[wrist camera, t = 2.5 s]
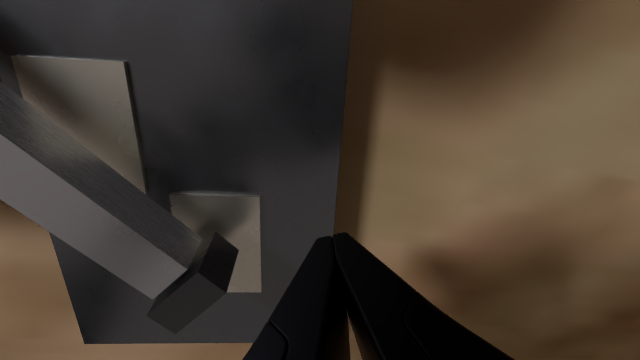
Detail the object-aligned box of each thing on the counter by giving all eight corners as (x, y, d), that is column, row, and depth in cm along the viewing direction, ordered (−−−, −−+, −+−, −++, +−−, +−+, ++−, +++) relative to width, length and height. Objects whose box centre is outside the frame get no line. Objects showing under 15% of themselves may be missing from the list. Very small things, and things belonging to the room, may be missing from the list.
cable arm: (248, 216, 15) (226, 293, 11) (211, 248, 16) (175, 334, 11) (-117, -98, 10) (-466, -213, 6) (-152, -34, 11) (-493, -89, 6)
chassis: (321, 312, 19) (324, 345, 17) (106, 312, 18) (82, 347, 16) (345, 1, 13) (354, -7, 11) (17, -22, 12) (-41, -35, 10)
